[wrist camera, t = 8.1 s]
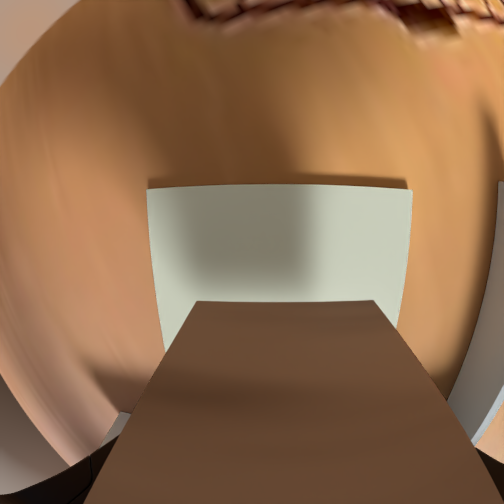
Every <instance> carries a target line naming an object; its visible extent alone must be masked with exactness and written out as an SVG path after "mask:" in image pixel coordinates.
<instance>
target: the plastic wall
mask: <svg viewBox="0 0 504 504" xmlns="http://www.w3.org/2000/svg"><path fill="white" fill-rule="evenodd" d="M503 401H504V182H500V181H498V205H497V219H496V229H495V238H494V246H493V253H492V259H491V265H490V270H489V275H488V280H487V285H486V290H485V294H484V298H483V302H482V306H481V310H480V314H479V317H478V321H477V324H476V327H475V331H474V334H473V337H472V340H471V343H470V346H469V349H468V352H467V354H466V357H465V360H464V362H463V365H462V368H461V370H460V372H459V375H458V377H457V380H456V382H455V384H454V387H453V389H452V391H451V393H450V395H449V398H448V400H447V403H448V405H449V406H450V408H451V409H452V411H453V412H454V414H455V416H456V417H457V419H458V420H459V422H460V424H461V425H462V427H463V428H464V430H465V432H466V433H467V435H468V437H469V438H470V440H471V442H472V444H473V445H474V446H475V445H476V444H477V442H478V441H479V440H480V438H481V437H482V435H483V434H484V432H485V431H486V429H487V428H488V426H489V424H490V423H491V421H492V420H493V418H494V416H495V415H496V413H497V411H498V410H499V408H500V406H501V404H502V403H503ZM130 415H131V414H129V413H125V412H120V413H119V415H118V417H117V418H116V420H115V422H114V423H113V425H112V427H111V429H110V430H109V432H108V434H107V435H106V437H105V439H104V440H103V442H102V444H101V446H100V447H102V446H103V445H105V444H106V443H108V442H109V441H111V440H112V439H113V438H115V437H116V436H118V435H119V434H120V433H121V432H122V430H123V428H124V426H125V424H126V423H127V421H128V419H129V417H130ZM100 447H99V448H100Z"/></svg>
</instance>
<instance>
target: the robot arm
mask: <svg viewBox="0 0 504 504" xmlns="http://www.w3.org/2000/svg"><path fill="white" fill-rule="evenodd" d="M120 434H121V433H120ZM120 434H119V435H120ZM119 435H118V436H116V437H115V438H113V439H112V440H111V441H109V442H108V443H106V444H105V445H103V446H102V447H100V448H99V449H98V450H96V451H95V452H93V453H92V454H91V455H90V456H87V457H85V458H84V459H82V460H81V461H79V462H78V463H76V464H75V465H73V466H71V467H70V468H68V469H66V470H65V471H63V472H61V473H59V474H57V475H55V476H53V477H51V478H48V479H46V480H44V481H42V482H39V483H37V484H35V485H32V486H30V487H28V488H25V489H23V490H20V491H18V492H15V493H11V494H4V495H0V504H83V503H84V501H85V500H86V498H87V496H88V494H89V492H90V490H91V488H92V486H93V484H94V482H95V480H96V478H97V476H98V475H99V473H100V471H101V469H102V467H103V465H104V463H105V461H106V459H107V458H108V456H109V454H110V452H111V450H112V448H113V446H114V445H115V443H116V441H117V439H118V437H119ZM475 449H476V450H477V452H478V454H479V456H480V458H481V459H482V461H483V463H484V465H485V467H486V468H487V470H488V472H489V474H490V476H491V478H492V480H493V482H494V484H495V486H496V488H497V490H498V492H499V494H500V496H501V498H502V500H503V502H504V464H503V463H501V462H499V461H497V460H495V459H494V458H492V457H490V456H489V455H487V454H485V453H484V452H482V451H481V450H479V449H478V448H475Z"/></svg>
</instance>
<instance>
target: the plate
mask: <svg viewBox="0 0 504 504" xmlns="http://www.w3.org/2000/svg"><path fill="white" fill-rule="evenodd" d="M146 194H147V211H148V226H149V238H150V249H151V259H152V268H153V276H154V284H155V292H156V299H157V306H158V312H159V318H160V325H161V330H162V336H163V342H164V347H165V352H167V350H168V348H169V347H170V345H171V343H172V342H173V340H174V338H175V336H176V335H177V333H178V331H179V330H180V328H181V326H182V324H183V323H184V321H185V319H186V318H187V316H188V314H189V313H190V311H191V309H192V308H193V306H194V304H195V302H196V301H228V302H326V301H359V300H374V301H375V303H376V304H377V305H378V306H379V308H380V309H381V310H382V312H383V313H384V314H385V315H386V317H387V318H388V319H389V321H390V322H391V323H392V325H393V326H394V327H395V329H396V326H397V321H398V316H399V311H400V306H401V300H402V295H403V289H404V282H405V275H406V268H407V260H408V251H409V242H410V231H411V217H412V196H413V190H408V189H396V188H382V187H365V186H345V185H314V184H239V185H208V186H187V187H170V188H156V189H146Z"/></svg>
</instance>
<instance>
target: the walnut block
mask: <svg viewBox="0 0 504 504" xmlns="http://www.w3.org/2000/svg"><path fill="white" fill-rule="evenodd" d="M83 504H504V502H503V500H502V498H501V496H500V494H499V492H498V490H497V488H496V486H495V484H494V482H493V480H492V478H491V476H490V474H489V472H488V470H487V468H486V467H485V465H484V463H483V461H482V459H481V458H480V456H479V454H478V452H477V450H476V449H475V447H474V445H473V444H472V442H471V440H470V438H469V437H468V435H467V433H466V432H465V430H464V428H463V427H462V425H461V424H460V422H459V420H458V419H457V417H456V416H455V414H454V412H453V411H452V409H451V408H450V406H449V405H448V403H447V401H446V400H445V398H444V397H443V395H442V394H441V392H440V391H439V389H438V388H437V386H436V385H435V383H434V382H433V380H432V379H431V377H430V376H429V375H428V373H427V372H426V370H425V369H424V367H423V366H422V364H421V363H420V362H419V360H418V359H417V357H416V356H415V355H414V353H413V352H412V350H411V349H410V348H409V346H408V345H407V344H406V342H405V341H404V339H403V338H402V337H401V335H400V334H399V333H398V331H397V330H396V329H395V327H394V326H393V325H392V323H391V322H390V321H389V319H388V318H387V317H386V315H385V314H384V313H383V312H382V310H381V309H380V308H379V306H378V305H377V304H376V303H375V301H374V300H359V301H326V302H228V301H196V302H195V304H194V306H193V308H192V309H191V311H190V313H189V314H188V316H187V318H186V319H185V321H184V323H183V324H182V326H181V328H180V330H179V331H178V333H177V335H176V336H175V338H174V340H173V342H172V343H171V345H170V347H169V348H168V350H167V352H166V354H165V355H164V357H163V359H162V361H161V362H160V364H159V366H158V368H157V369H156V371H155V373H154V375H153V376H152V378H151V380H150V382H149V383H148V385H147V387H146V389H145V390H144V392H143V394H142V396H141V397H140V399H139V401H138V403H137V405H136V406H135V408H134V410H133V412H132V414H131V415H130V417H129V419H128V421H127V423H126V424H125V426H124V428H123V430H122V432H121V434H120V435H119V437H118V439H117V441H116V443H115V445H114V446H113V448H112V450H111V452H110V454H109V456H108V458H107V459H106V461H105V463H104V465H103V467H102V469H101V471H100V473H99V475H98V476H97V478H96V480H95V482H94V484H93V486H92V488H91V490H90V492H89V494H88V496H87V498H86V500H85V501H84V503H83Z"/></svg>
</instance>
